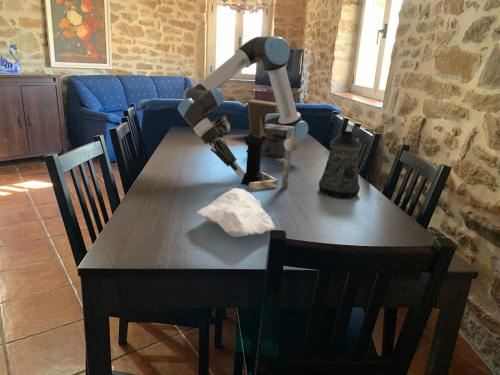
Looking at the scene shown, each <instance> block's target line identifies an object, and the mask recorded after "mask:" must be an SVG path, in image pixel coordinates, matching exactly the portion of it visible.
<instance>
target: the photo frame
mask: <svg viewBox="0 0 500 375" xmlns="http://www.w3.org/2000/svg"><path fill="white" fill-rule="evenodd" d="M247 111H248V125H249V134H253V137H254V138H262V136H264V124H265V117H266V115H267V114H279V110H278V107H277V103H276V101H275V102H274V101H265V100H259V99H252V98H250V100H247Z"/></svg>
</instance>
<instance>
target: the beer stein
mask: <svg viewBox="0 0 500 375" xmlns="http://www.w3.org/2000/svg"><path fill="white" fill-rule="evenodd" d="M329 148H330V151H329V154H328V158H327V161H326V165H325V168H324V171H323V174H322V176H321V178H320V179H319V182H318V191H319V192H320V194H322V195H324V196H326V197H329V198H334V199H339V200H352V199H354V198H355V199H356V198H357V196H358V194H359V192H360V190H361V187H360V183H359V153H360V151H361V150H362V143H361V142H360V141H359V140H358V139H357V138H356V137H355V136H354V133H353V132H352V131H349V130H342V131H341V132H340V133H339V134H338V135H337V136H336V137H334V138H332V139H331V141H330V142H329Z"/></svg>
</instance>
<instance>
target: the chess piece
mask: <svg viewBox="0 0 500 375" xmlns="http://www.w3.org/2000/svg"><path fill="white" fill-rule="evenodd" d="M265 139H266V136H262V138H260V137H254V136H253V134H250V133H249V134H248V135H247V136H244V140H245V146H247V150H246V151H245V152H246V169H245V170H246V171H245V174H243V175H242V176H243V177H242V178H241V181H240V185H242V186H248V187H249V183H250V182H259V181H264V180H262V179H263V177H261V175H262V173H260V171H261V164H262V163H261V162H262V155H261V152H263V149H262V145H264V144H265Z"/></svg>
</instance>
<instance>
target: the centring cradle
mask: <svg viewBox="0 0 500 375" xmlns="http://www.w3.org/2000/svg"><path fill="white" fill-rule="evenodd" d="M267 128H269V129H278V130H287V139H286V140H284V148H285V157H283V158H284V159H283V160H284V161H283V169H282V170H283V171H282V179H281V180H282V181H281V189H283V190H287V189H288V186H289V184H288V183H289V178H290V177H289V175H290V174H289V173H290V168H291V167H290V166H291V157H292V152H293V151H295V150H296V149H297V148H298V146H299V143H298V141H297V139H296V138H294V137H293V130H294V127H292V126H281V125H272V124H266V127H265V128H264V133H267ZM260 173H262V175H261V177H263V179H262V180H264V181H259V182H250V183H249V186H248V191H250V192H251V191H257V190H259V191H260V190H265V189H274V188H278V184H279V180H278V179H277V178H276V177H273V176H271V175H269V174H267V173H265V172H264V171H262V170H260Z"/></svg>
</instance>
